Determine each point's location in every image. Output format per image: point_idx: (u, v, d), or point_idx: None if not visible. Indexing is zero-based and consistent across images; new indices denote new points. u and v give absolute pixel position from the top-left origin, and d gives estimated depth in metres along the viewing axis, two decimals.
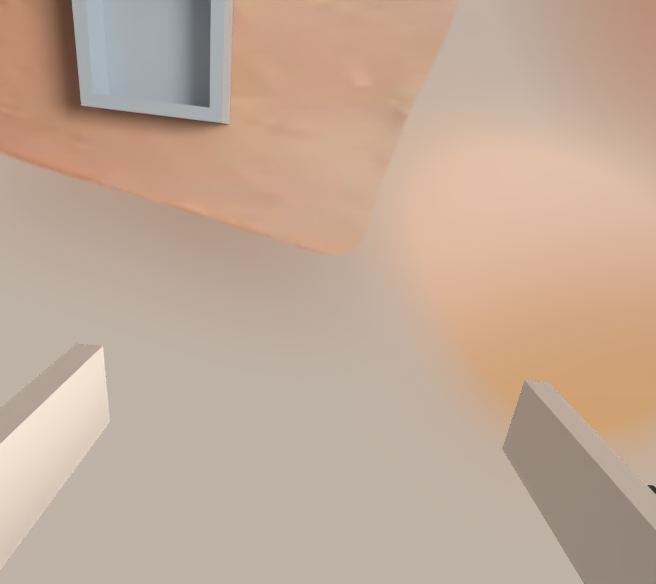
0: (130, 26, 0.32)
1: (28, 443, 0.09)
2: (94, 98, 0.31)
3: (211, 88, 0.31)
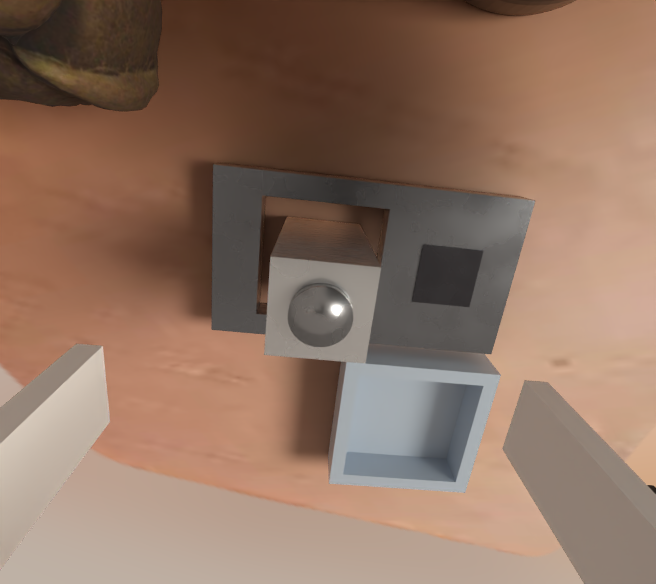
0: (375, 400, 0.32)
1: (27, 443, 0.09)
2: (343, 478, 0.31)
3: (461, 468, 0.31)
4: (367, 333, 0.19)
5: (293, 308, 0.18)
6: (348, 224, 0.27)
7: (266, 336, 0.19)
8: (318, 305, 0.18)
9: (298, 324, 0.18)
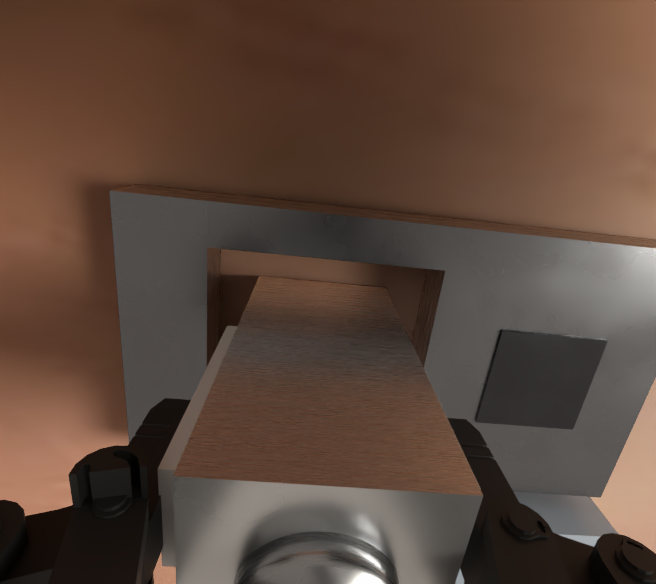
0: None
1: None
2: None
3: None
4: None
5: None
6: (366, 291, 0.15)
7: None
8: None
9: None
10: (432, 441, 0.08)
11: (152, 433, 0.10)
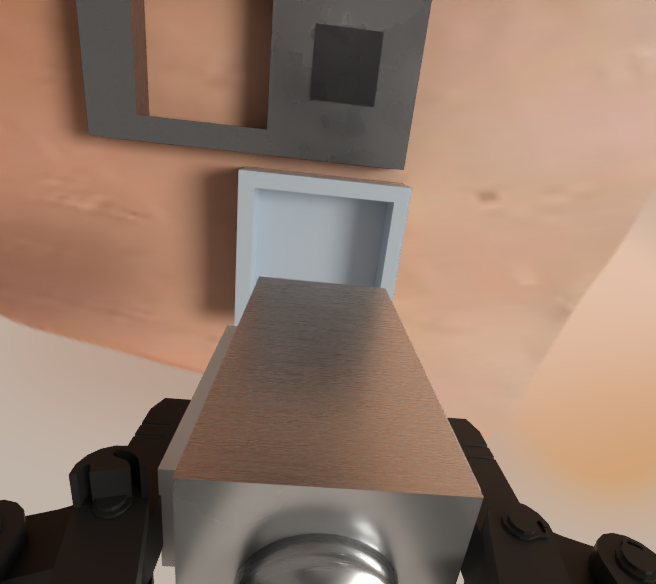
0: (286, 238, 0.29)
1: None
2: None
3: None
4: None
5: None
6: (366, 291, 0.15)
7: None
8: None
9: None
10: (432, 442, 0.08)
11: (152, 433, 0.10)
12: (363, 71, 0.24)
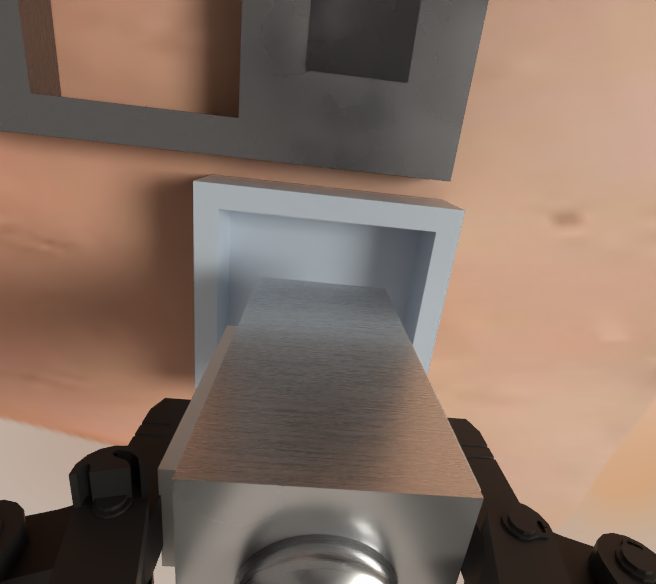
0: None
1: None
2: None
3: None
4: None
5: None
6: (366, 291, 0.15)
7: None
8: None
9: None
10: (432, 443, 0.08)
11: (152, 433, 0.10)
12: (392, 23, 0.15)
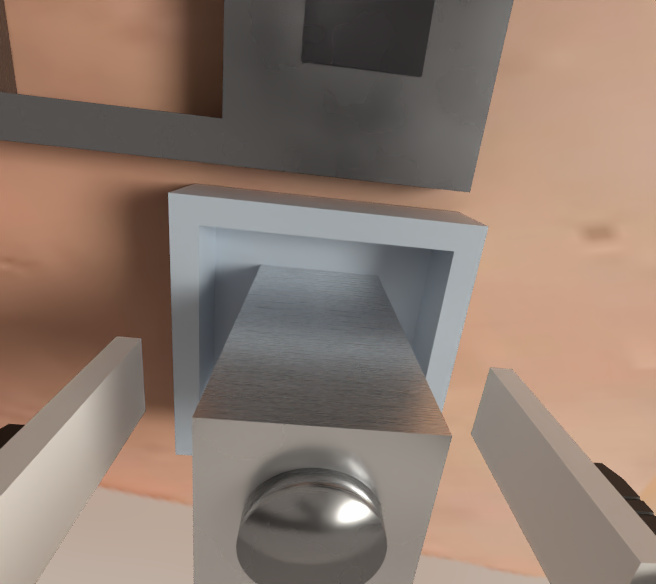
0: None
1: (84, 426, 0.09)
2: None
3: None
4: (413, 556, 0.09)
5: (249, 533, 0.08)
6: (360, 278, 0.17)
7: (195, 565, 0.09)
8: (306, 526, 0.08)
9: (261, 562, 0.08)
10: (412, 396, 0.09)
11: None
12: (404, 6, 0.12)
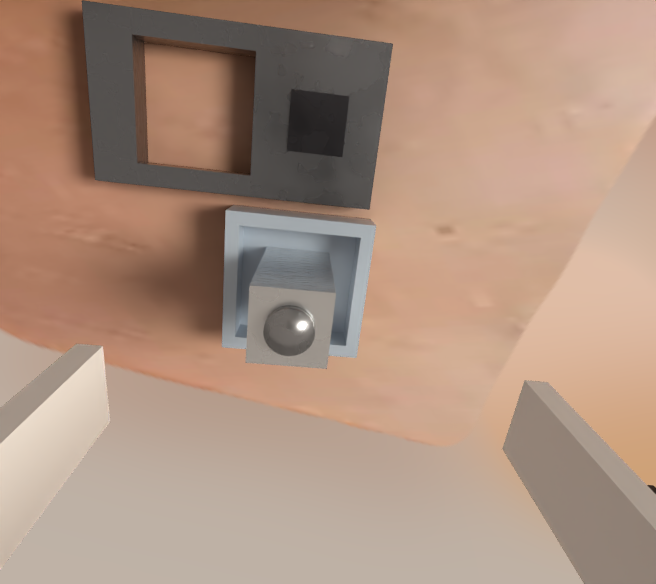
0: None
1: (28, 443, 0.09)
2: (235, 341, 0.32)
3: (349, 330, 0.32)
4: (327, 344, 0.24)
5: (268, 325, 0.23)
6: (318, 253, 0.32)
7: (247, 347, 0.24)
8: (287, 323, 0.23)
9: (271, 338, 0.23)
10: (326, 285, 0.24)
11: None
12: (332, 128, 0.28)
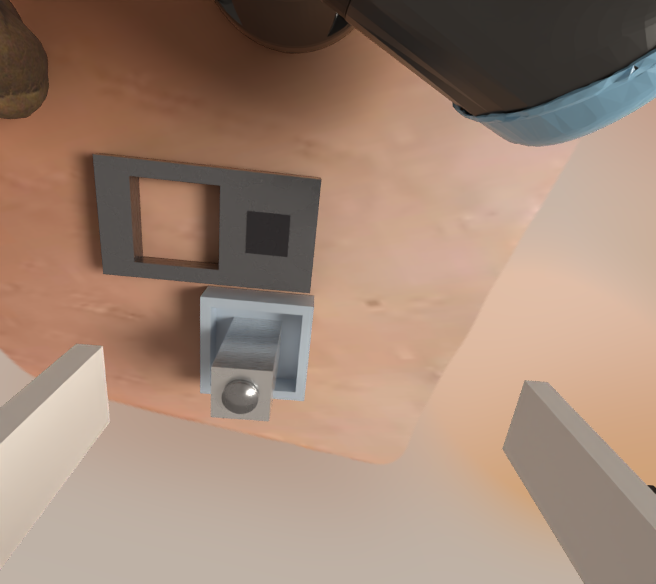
0: None
1: (28, 443, 0.09)
2: (210, 388, 0.42)
3: (297, 381, 0.42)
4: (268, 405, 0.34)
5: (224, 394, 0.33)
6: (273, 322, 0.42)
7: (211, 407, 0.34)
8: (238, 392, 0.33)
9: (227, 402, 0.33)
10: (267, 363, 0.34)
11: None
12: (279, 237, 0.38)
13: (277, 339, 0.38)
